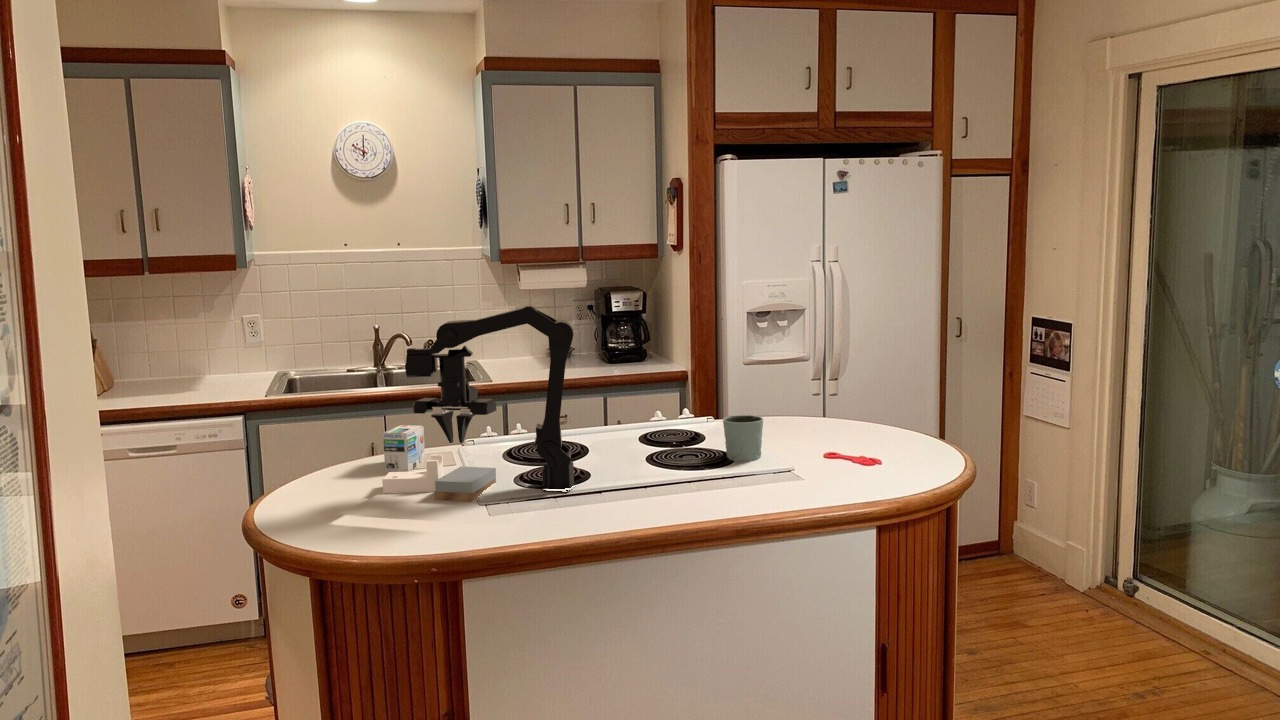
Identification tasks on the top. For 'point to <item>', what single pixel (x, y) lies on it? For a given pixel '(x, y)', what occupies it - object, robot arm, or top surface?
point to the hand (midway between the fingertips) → (456, 442)
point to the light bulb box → (403, 448)
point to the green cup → (743, 437)
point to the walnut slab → (461, 494)
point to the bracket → (415, 478)
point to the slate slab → (465, 479)
